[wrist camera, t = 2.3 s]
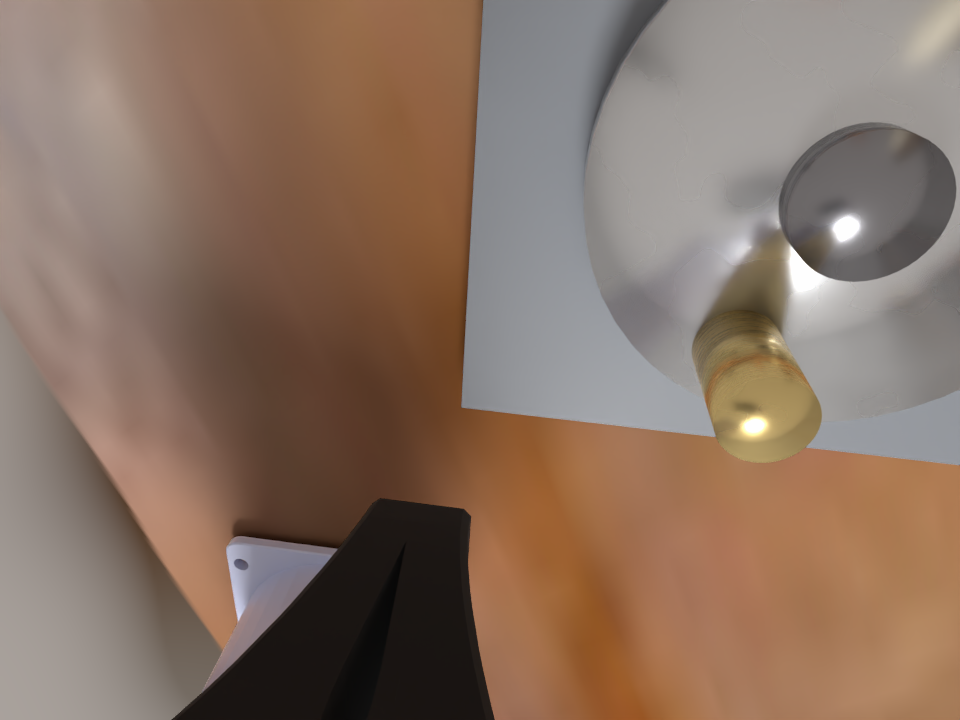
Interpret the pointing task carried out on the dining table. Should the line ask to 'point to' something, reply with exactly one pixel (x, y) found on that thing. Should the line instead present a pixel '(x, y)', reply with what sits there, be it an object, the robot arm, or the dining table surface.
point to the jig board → (585, 247)
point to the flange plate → (785, 209)
